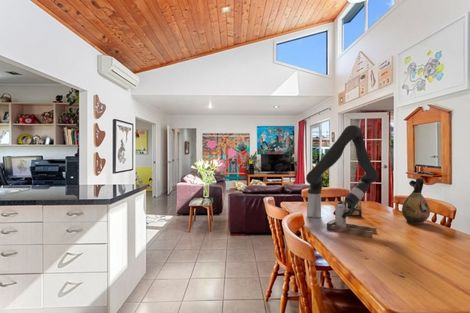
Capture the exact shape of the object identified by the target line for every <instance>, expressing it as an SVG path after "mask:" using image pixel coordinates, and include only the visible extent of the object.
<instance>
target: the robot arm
mask: <svg viewBox="0 0 470 313" xmlns="http://www.w3.org/2000/svg"><path fill="white" fill-rule="evenodd" d="M351 141H352V143H353V144H354V145H353V146H354V148H355V156H356V159H357V163H358V165H359V168H360V169H361V170H363V171H364V174H363V175H362V176H361V177H360V179H359V180H358V182H357V183H356V184H355V185H354V187H353V188H352V189H351V190H349V192H348V194H346V196H345V197H344V201H343V200H339V202H338V203H337V204H343V205H345V207H346V212H345V213H344V214H343V215H342V218H344V219H345V218H346V219H347V217H349V216H348V214H353V213H354V211H355V210H356V209H357V203H358V202H359V203H360V200H362V198H363V197H364V195H365V194H366V193H367V192H368V190H369V187H370V186H371V185H372V184H373V183H375V182H377V181H378V179H379V173H378V171H377V170H376V168H375V167H374V165H373V163H372V160H371V159H370V156H369V154H368V151H367V148H366V144H365V140H364V134H363V131H362V128H361V127H360V126H358V125H354V124H349V125H347V126H346V127H345V128H344V130H343V131H341V134H340V136H339V137H338V138H337V139H336V141H335V142H334V143H333V144H332V145H331V146H330V147H329V149H328V150H327V151H326V152H325V154H324V155H323V156H322V157H321V159H320V160H319V161H318V163H317V164H316V165H315V166H314V167H313V168H312V169H311V170H310V171H309V172H308V173H307V175H306V178H305V180H306V183H307V184H309V187H308V189H307V203H306V217H309V218H313V219H316V218H317V219H319V218H321V217H322V190H323V176H322V175H323V174H324V173H325V172H326V171H327V170H328V169H330V168H332V166H334V165H335V164H336V163H337V162H338V160H339V159H340V158H341V157H342V155H343V153H344V150H345V148H346V146H347V145H348V144H349V143H350V142H351ZM335 207H336V205H335V206H334V208H335ZM351 210H352V212H351ZM332 214H333V216H335V210H334V211H333V212H332Z"/></svg>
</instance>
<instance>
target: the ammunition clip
mask: <svg viewBox="0 0 470 313" xmlns="http://www.w3.org/2000/svg"><path fill="white" fill-rule="evenodd" d="M361 200H362V199H361ZM361 200H360V201H359V202H358V203H357V205H356V206H357V209H356V210H355V211H354V213H353V214H348V216H347V217H358V218H359V217H360V218H362V217H363V215H362V214H363V213H362V212H363V210H362V208H363V207H362V201H361ZM351 212H352V210H351Z"/></svg>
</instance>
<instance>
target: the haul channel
mask: <svg viewBox="0 0 470 313" xmlns="http://www.w3.org/2000/svg"><path fill="white" fill-rule="evenodd" d="M377 229H378V228H377V227H374V226H370V225H369V226H367V225H362V224H357V223H356V224H355V223H348V222H346V227H342V226H336V225H335V218H333V219H331V220H330V221H328V222H326V231H327V230H328V231H331V232H332V231H333V232H338V233H344V234H348V235H349V234H350V235H354V236H360V237H367V238H373V234H377Z"/></svg>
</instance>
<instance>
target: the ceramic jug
mask: <svg viewBox="0 0 470 313" xmlns="http://www.w3.org/2000/svg"><path fill="white" fill-rule="evenodd" d="M424 182H425V181H424V178H422V177H417V178H416V179H415V180H413V179H412V180H410V181H409V183H408V184H409V186H410V187H412V188H413V191H412V192H411V193H410V194H409V195H408V196H407V197H406V199H404V201H403V203H402V207H401V213H402V216H403V217H404V218H405V220H406V221H405V222H406V223H407V224H411V225H412V224H413V225H418V224H420V225H424V223H425V222H426V221H427V220H428V219H429V217H430V216H431V215H430V214H431V209H430V206H429V203H428V201H427V200H426V199H425V197H424V195H423V194H422V191H423V188H424Z"/></svg>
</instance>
